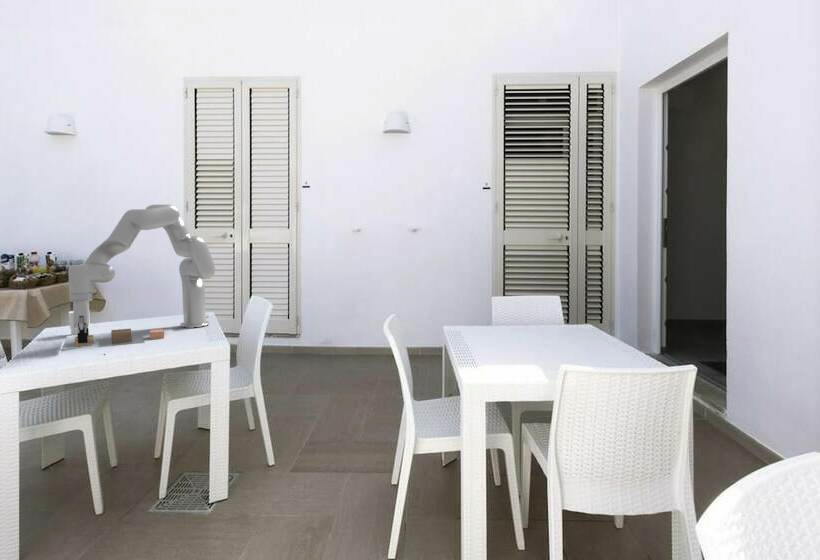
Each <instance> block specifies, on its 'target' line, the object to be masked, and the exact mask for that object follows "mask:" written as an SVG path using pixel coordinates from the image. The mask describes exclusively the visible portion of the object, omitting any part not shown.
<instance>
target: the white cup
mask: <svg viewBox="0 0 820 560" xmlns="http://www.w3.org/2000/svg"><path fill="white" fill-rule="evenodd" d="M89 312H91V311H90V310H89ZM68 320H69V327H70V333H71V334H70V335H71V336H72V335H73V336H78V334H77V333H78V326H76V328H75V327H74V317H73V310H71V311H68ZM90 328H91V315H90V316H89V325H88V330H89V334H90V331H91V330H90Z"/></svg>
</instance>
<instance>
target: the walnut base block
mask: <svg viewBox="0 0 820 560" xmlns="http://www.w3.org/2000/svg"><path fill="white" fill-rule="evenodd" d="M110 334H111V335H110V336H111V337H110V338H112V343H121V342H132V338H131V336H132V329H131V328H123V329H121V328H120V329H111V333H110Z"/></svg>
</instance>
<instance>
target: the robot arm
mask: <svg viewBox="0 0 820 560" xmlns="http://www.w3.org/2000/svg"><path fill="white" fill-rule="evenodd" d="M180 215H181V214H180V210H179V209H178V208H177V206H175V205H173V204H150V205H148V206H147V207H146V208H145V209H144V208H141V209H139V208H137V209H134V208H131V209H129V210H127V211H125V213H123V215H122V217H121V218H120V220H119V221H118V223H117V224H116V226H115V228H114V229H113V230H112V232H111V233H110V235H109V236H108V237H107V239H105V240H104V241H103V242H102V243H100V244H99V245H98V246H97V247H96V248H94V249H93V251H92V252H91V253H90V255H89V256H88V257H87V259H86V261H85V262H84V263H83V264H73V265H70V266H69V267H68V273H67V274H68V286H69V302H71V303H72V309H73V310H72V311H73V317H74V327H75V328H76V326H78V333H77V334H78V335H77V336H78V343H87V342H88V338H87V335H90V333H89V330H88V325H89V316H90V317H91V313H90V312H91V311H90V302H91V301H93V286H92V285H93V283H97V284H98V283H100V284H101V283H102V284H104V283H108V282H111V281H112V280H113V279H114V278H115V275H116V273H115V272H116V271H115V269H114V267H113V266H111V265H109V264H108V262H110V261H111V260H112V259H113V258H115V257H116V256H118V255H120V254H122V253H124V252H126V251H128V250H129V249H130V248H131V246H132V245H133V243H134V242H135V239H136V238H137V237H138V235H139V234H140V232H141V231H149V230H155V229H159V228H163V229H164V230H165V232H166V234H167V235H168V238H169V241H170V244H171V246H172V248H173V250H174V252H175V254H176V256H179V257H182V258H183V257H184V259H182V260H181V261H180V263H179V267H178V271H179V275H180V280H181V290H182V309H183V322H181V323H180V324H179V326H180V327H181V328H184V327H185V328H186V329H192V328H193V329H195V328H194V327H197V328H203V327H202V326H204V327H207V325H208V326H209V325H210V321H208V320H207V319H209V318H210V314H209V313H206V298H205V295H206V294H205V284H204V281H203V280H209V279H211V278H212V277H213V276H214V275H215V272H216V267H215V262H214V259H213V256H212V254H211V252H210V249H209V246H208V244H207V243H206V241H205V240H204V239H203V238H201V237H200V236H198V235H197V236H196V235H195V236H194V235H191V234H190V232H189V229H188V228H187V225H186V224H185V222H184V220H183V219H182V217H181V216H180ZM89 311H90V312H89ZM185 328H184V329H185Z"/></svg>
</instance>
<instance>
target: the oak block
mask: <svg viewBox="0 0 820 560" xmlns="http://www.w3.org/2000/svg"><path fill="white" fill-rule="evenodd" d="M87 338H88V342H87V343H78V335H75V338H74V347H84V346H93V345H94V334H89V335H87Z"/></svg>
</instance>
